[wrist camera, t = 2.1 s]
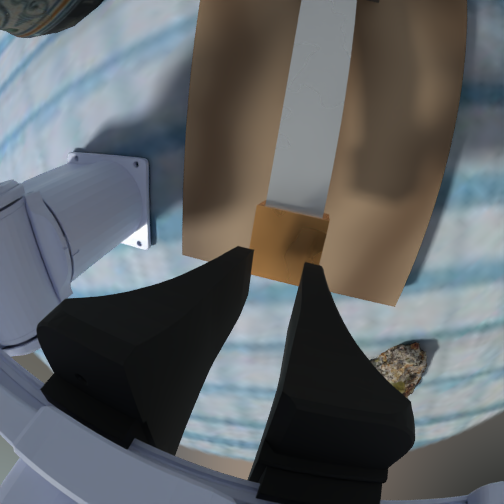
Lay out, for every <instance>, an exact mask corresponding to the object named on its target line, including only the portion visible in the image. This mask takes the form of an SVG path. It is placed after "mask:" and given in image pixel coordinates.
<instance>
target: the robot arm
mask: <svg viewBox="0 0 504 504" xmlns="http://www.w3.org/2000/svg"><path fill="white" fill-rule="evenodd" d="M78 158H79V159H78ZM136 162H138V164H139V166H137V164H136ZM139 241H140V242H141V243H142V244H141V243H140V242H139ZM120 243H123V244H126V245H130V246H133V247H137V248H140V249H144V250H147V249H149V248H150V246H151V238H150V214H149V163H148V161H147V159H145V158H140V157H130V156H120V155H109V154H96V153H82V152H70V153H68V155H67V164H65V165H63V166H60V167H57V168H55V169H52V170H50V171H48V172H45V173H43V174H40V175H38V176H36V177H33V178H31V179H29V180H26V181H24V182H23V183H18V182H16V181H14V180H8V181H5V182H2V183H0V435H1V436H2V437H3V438H4V439H5V440H6V441H7V442H8V443H9V444H10V445H11V446H12V447H13V449H14V452H15V453H16V454H17V455H18V456H19V457H20V458H19V459H18V461H17V462H16V464H15V465H14V466H13V468H12V469H11V471H10V472H9V473H8V475H7V476H6V478H5V479H4V481H3V482H2V484H1V485H0V504H504V481H501V482H496V483H491V484H487V485H485V486H482V487H480V488H478V489H476V490H474V491H473V492H471V493H470V494H469V495H465V496H458V497H449V498H439V499H425V500H380V499H381V489H382V483H385V482H386V480H387V476H388V475H387V474H388V468H389V467H390V466H391V465H392V464H394V463H395V462H396V461H398V460H399V459H400V458H401V457H403V456H404V455H405V454H406V453H407V452H408V451H409V450H410V449H411V448H412V447H413V444H414V441H415V424H414V416H413V411H412V406H411V401H409V400H408V399H407V398H406V397H405V396H404V395H403V394H402V393H401V392H400V391H398V390H397V389H396V388H395V387H394V386H393V385H392V384H391V383H390V382H389V381H388V380H387V379H386V378H385V377H384V376H383V375H382V374H381V373H380V372H379V371H378V370H377V369H376V368H375V367H374V365H373V364H372V363H371V362H370V361H369V359H368V358H367V357H366V356H365V354H364V353H363V352H362V350H361V349H360V348H359V346H358V345H357V344H356V342H355V341H354V339H353V338H352V336H351V334H350V333H349V331H348V329H347V327H346V326H345V324H344V322H343V320H342V318H341V316H340V314H339V312H338V310H337V307H336V305H335V303H334V300H333V298H332V295H331V293H330V290H329V287H328V284H327V281H326V278H325V274H324V269H323V267H322V266H320V265H316V264H312V263H308V262H305V263H304V267H303V271H302V275H301V279H300V283H299V287H298V291H297V295H296V299H295V303H294V307H293V311H292V315H291V319H290V322H289V326H288V331H287V337H286V343H285V349H284V355H283V361H282V367H281V373H280V378H279V383H278V387H277V391H276V394H275V398H274V401H273V404H272V408H271V411H270V414H269V417H268V420H267V424H266V427H265V430H264V433H263V436H262V439H261V442H260V445H259V448H258V451H257V454H256V457H255V460H254V463H253V466H252V469H251V472H250V475H249V477H248V480H244V479H241V478H237V477H234V476H230V475H227V474H224V473H220V472H218V471H214V470H211V469H208V468H206V467H203V466H200V465H197V464H194V463H192V462H189V461H186V460H184V459H181V458H179V457H176V456H175V454H176V451H177V449H178V446H179V443H180V441H181V438H182V435H183V433H184V430H185V428H186V425H187V423H188V420H189V418H190V415H191V413H192V410H193V408H194V405H195V403H196V400H197V398H198V396H199V393H200V391H201V389H202V386H203V384H204V382H205V379H206V377H207V375H208V372H209V370H210V368H211V366H212V364H213V362H214V360H215V358H216V357H217V355H218V353H219V352H220V350H221V348H222V346H223V345H224V343H225V341H226V339H227V338H228V336H229V334H230V332H231V331H232V329H233V327H234V325H235V324H236V322H237V320H238V318H239V316H240V314H241V312H242V309H243V307H244V304H245V301H246V299H247V296H248V292H249V284H250V277H251V270H252V262H253V255H254V250H253V249H249V248H245V247H241V246H237V247H235V248H233V249H231V250H229V251H228V252H226V253H224V254H222V255H221V256H219V257H217V258H215V259H213V260H211V261H209V262H208V263H206V264H204V265H202V266H200V267H198V268H195V269H193V270H191V271H189V272H187V273H185V274H183V275H180V276H178V277H175V278H173V279H170V280H167V281H164V282H161V283H159V284H155V285H152V286H148V287H144V288H141V289H137V290H133V291H129V292H124V293H118V294H112V295H106V296H98V297H86V298H69V299H67V298H68V297H69V296H70V295H71V294H72V293H73V292H72V289H71V285H70V283H71V282H72V281H73V280H75V279H76V278H77V277H78V276H79V275H81V274H82V273H83V272H84V271H86V270H87V269H88V268H89V267H91V266H92V265H93V264H94V263H96V262H97V261H98V260H99V259H101V258H102V257H103V256H104V255H106V254H107V253H108V252H110V251H111V250H112V249H113V248H115V247H116V246H117V245H119V244H120ZM40 348H42V350H43V352H44V354H45V356H46V358H47V360H48V362H49V364H50V366H51V368H52V370H53V372H54V374H53V375H52V376H51V377H50V379H49V380H48V381H47V382H46V383H45V384H44V383H43V382H41V381H40V380H39V379H38V378H36V377H35V376H33V375H32V374H31V373H30V372H28V371H27V370H26V369H25V368H23V367H22V366H21V365H20V364H18V363H17V362H16V361H15V360H14V359H12V358H11V357H12V356H17V355H25V354H29V353H32V352H34V351H36V350H38V349H40Z"/></svg>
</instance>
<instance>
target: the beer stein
mask: <svg viewBox="0 0 504 504" xmlns="http://www.w3.org/2000/svg"><path fill="white" fill-rule="evenodd" d="M102 1H103V0H0V30H3V31H6V32H8V33H10V34H12V35H14V36H16V37H21V38H32V37H36V36H41V35H46V34H52V33H58V32H60V31H63V30H65V29H68V28H70V27H73V26H75V25H76V24H77V23H78V22H80V21H81V20H82V19H83V18H84V17H86V16H87V15H88V14H89V13H90V12H92V11H93V10H94V9H96V8H97V7H98V6H99V4H100V3H101V2H102Z"/></svg>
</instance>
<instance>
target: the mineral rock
mask: <svg viewBox="0 0 504 504" xmlns="http://www.w3.org/2000/svg"><path fill="white" fill-rule="evenodd" d="M426 359H427V356H426V352H424V351H420V347H419V343H416V342H415V343H413V344H411V345H406V346H404V345H403V344H400V345H397V346H394V347H392V348H390V349H388V350H387V351H386V352H383V353H382V354H381V355H379V357H378V358H376V359H374V360H372V361H370V362H371V363H372V364H373V365H374V367H375V368H376V369H377V370H378V371H379V372H380V373H381V374H382V375H383V376H384V377H385V378H386V379H387V380H388V381H389V382H390V383H391V384H392V385H393V386H394V387H395V388H396V389H397V390H398V391H400V392H401V393H402V394H403V395H404V396H405V397H406V398H407V399H408V396H409V395H410V394H412V393H413V391H414V388H415V386H416V385H417V384H418V383H419V382H420V380H421V375H422V373H423V372H424V370H425V369H426V366H427V363H426Z"/></svg>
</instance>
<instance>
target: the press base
mask: <svg viewBox="0 0 504 504" xmlns="http://www.w3.org/2000/svg"><path fill="white" fill-rule="evenodd" d="M300 6H301V0H200V5H199V12H198V19H197V26H196V33H195V41H194V49H193V58H192V67H191V77H190V87H189V98H188V110H187V124H186V140H185V158H184V182H183V228H182V255H185V256H189V257H193V258H197V259H201V260H204V261H208V262H209V261H211V260H213V259H215V258H217V257H219V256H221V255H222V254H224V253H226V252H228V251H229V250H231V249H233V248H235V247H237V246H241V247H245V248H249V247H250V241H251V235H252V230H253V224H254V218H255V212H256V207H257V205H258V204H260V203H261V202H263V201H265V200H266V199H267V194H268V188H269V183H270V177H271V171H272V166H273V160H274V155H275V149H276V143H277V138H278V132H279V126H280V121H281V115H282V109H283V104H284V98H285V92H286V87H287V81H288V75H289V69H290V64H291V58H292V52H293V46H294V41H295V35H296V29H297V23H298V17H299V11H300ZM466 34H467V0H357V4H356V15H355V25H354V34H353V43H352V51H351V59H350V67H349V74H348V81H347V88H346V95H345V101H344V108H343V114H342V120H341V126H340V132H339V137H338V143H337V148H336V154H335V159H334V164H333V170H332V175H331V180H330V185H329V190H328V194H327V199H326V204H325V209H324V213H326V214H329V219H330V222H329V226H328V230H327V235H326V239H325V243H324V247H323V251H322V255H321V259H320V263H319V265H320V266H322V267H323V269H324V274H325V278H326V281H327V284H328V287H329V290H330V292H333V293H338V294H342V295H346V296H350V297H355V298H359V299H363V300H368V301H372V302H376V303H381V304H385V305H390V306H394V307H395V305H396V303H397V301H398V299H399V297H400V295H401V292H402V290H403V288H404V285H405V283H406V281H407V278H408V276H409V274H410V271H411V269H412V266H413V264H414V261H415V259H416V256H417V254H418V251H419V249H420V246H421V243H422V241H423V238H424V235H425V232H426V229H427V227H428V224H429V221H430V218H431V215H432V212H433V209H434V205H435V202H436V199H437V196H438V192H439V189H440V186H441V182H442V178H443V175H444V171H445V167H446V163H447V159H448V155H449V151H450V147H451V142H452V138H453V133H454V128H455V123H456V118H457V113H458V107H459V101H460V94H461V87H462V80H463V71H464V62H465V50H466Z"/></svg>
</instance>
